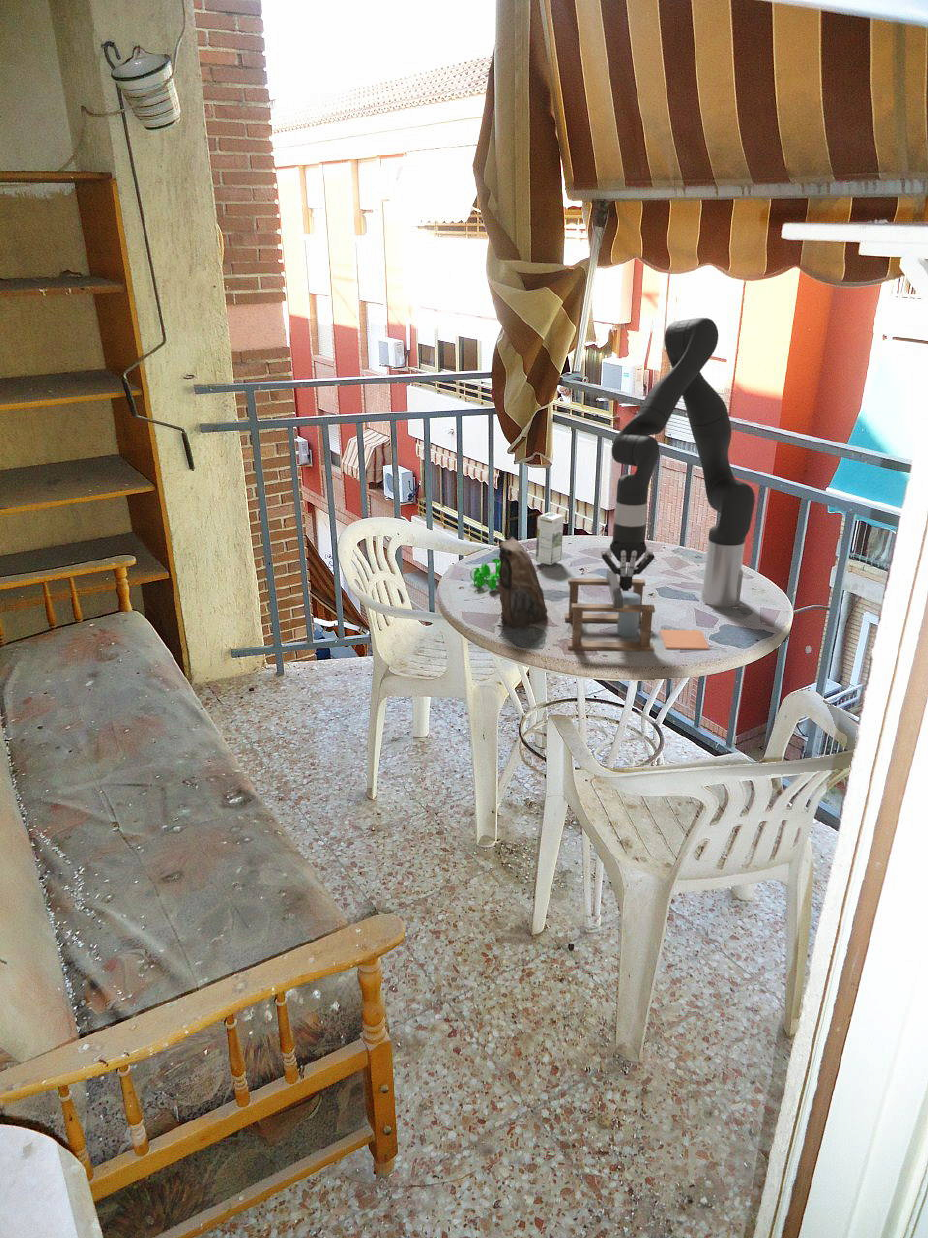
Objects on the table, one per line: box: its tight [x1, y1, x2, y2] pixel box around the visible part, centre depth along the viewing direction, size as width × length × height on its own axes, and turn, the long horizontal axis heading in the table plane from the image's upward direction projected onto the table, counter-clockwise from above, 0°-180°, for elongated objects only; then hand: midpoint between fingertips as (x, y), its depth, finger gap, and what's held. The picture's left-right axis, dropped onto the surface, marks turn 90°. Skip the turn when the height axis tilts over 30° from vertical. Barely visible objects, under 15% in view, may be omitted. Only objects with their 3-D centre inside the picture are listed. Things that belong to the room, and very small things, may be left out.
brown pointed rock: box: [496, 536, 549, 629], centre depth 216 cm, size 13×13×20 cm
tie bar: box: [606, 569, 623, 607], centre depth 205 cm, size 2×19×2 cm, turn 176°
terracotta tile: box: [659, 629, 710, 650], centre depth 205 cm, size 10×10×1 cm
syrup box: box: [535, 512, 565, 566], centre depth 257 cm, size 6×6×14 cm
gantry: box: [564, 577, 656, 651], centre depth 208 cm, size 20×20×11 cm
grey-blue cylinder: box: [616, 591, 641, 638], centre depth 208 cm, size 5×5×10 cm
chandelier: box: [469, 558, 501, 591], centre depth 242 cm, size 15×15×7 cm
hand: (625, 589), depth 205 cm, fingers closed
